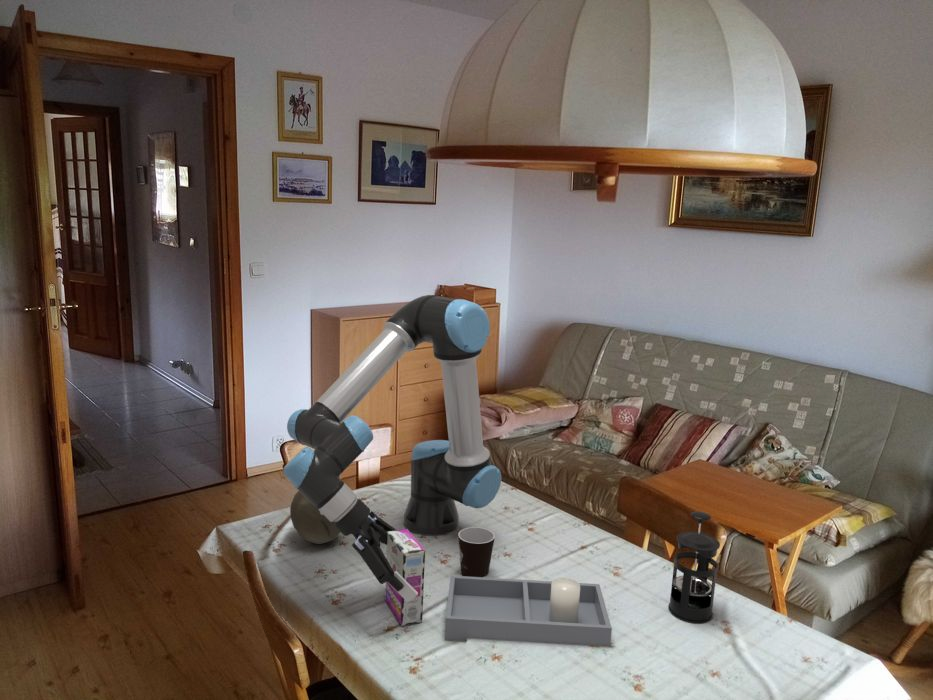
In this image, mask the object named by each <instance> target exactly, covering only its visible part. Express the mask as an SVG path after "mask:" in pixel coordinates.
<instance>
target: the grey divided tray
mask: <svg viewBox="0 0 933 700" xmlns="http://www.w3.org/2000/svg"><path fill="white" fill-rule="evenodd" d="M552 581H553V580H552ZM552 581H549V580H536V579H535V580H534V579H533V580H532V579H517V578H498V577H486V576H485V577H468V576H462V575H450V580H449V587H448V593H447V595H448V596H447V604H446V612H445V621H444V623H445V624H444V641H455V642H468V639H475V640H478V639H479V640H496V641H509V642H510V641H511V642H528V643H546V644H559V645H560V644H561V645H574V646H575V645H577V646H591V647H593V646H594V647H608V648H609V647H611V641H612V631H613V630H612V629H613V628H612V624H611V621H610V617H609V613H608V611H607V607H606V602H605V599H604V596H603V592H602V588H601V585H600V584H599V583H588V582H587V583H584V582H578V583H579V584H580V598H579V611H578V623H563V622H550V620H549V611H550V597H551V583H552Z"/></svg>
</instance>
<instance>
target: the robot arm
mask: <svg viewBox="0 0 933 700" xmlns="http://www.w3.org/2000/svg"><path fill="white" fill-rule="evenodd" d="M382 328H383V329H382V331H381V333H380V334H378V336H376V338H375V339H374V340H373V341H372V342H371V343H370V344H369V345H368V346H367V347H366V348H365V350H363V352H361V354H360V355H359V356H358V357H357V358H356V359H355V360H354V361H353V362H352V363H351V365H349V366H348V367H347V368H346V370H344V371H343V373H341V375H339V377H338V378H337V379H336V380H335V381H334V382H333V383H332V384H331V386H330V387H329V388H328V389H326V391H325V392H324V393H323V394H322V395H321V396H320V397H319V398H318V399H317V400H316V401H315V402H314V404H312V405H311V407H309V409H308V408H306V409H305V408H302V409H299V410H295V411H294V412H293V413H292V414H291V415H290V416H289V418H288V420H287V423H286V428H287V429H286V430H287V433H288V435H289V437H290V438H291V439H293V441H296V442H297V443H299V444H301V445H302V446H306V447H303V448H302V449H301V450H300V451H299V452H298V453H297V454H295V455H294V456H293V457H292V458H291V459H290V460H289V461H288V462H287V464H285V466H284V467H283V474H284V477H286V478H287V480H288V481H289V483H291V484H292V485H293V486H294V488H295V489H297V491H300V492H301V493H302V494H303V495H304V496H305V497H306V498H307V499H308V500H309V501H310V502H311V503H312V504H313V505H314V506H315V507H316V508H317V509H318V510H319V511H320V514H321V515H324V516H325V517H326V518H327V519H328V520H329V521H330V522H333V521H334V526H335V527H336V528H337V529H338V530H339V531H340V533H341V535H343V536H344V537H348V536H349V535H353V537H354V538H355V541H354V542H353V543H352V544H351V547H353V549H354V550H355V551H356V553H358V555H359V556H360V557H361V559H362V560H363V562H365V565H366V566H367V567H368V569H369V570H370V572H371V574H372V575H373V576H374V578H376V580H377V581H378V583H379V584H380V585H384V584H386V581H387V582H388V583H389V584H390V585H391V586H392V587H393V588H394V589H395V590H396V591H397V592H398V593H399V594H400V595H401V596H402V597H403V598H404V599H405V600H406V601H407V602H410V601H411V600H412V599H413V598H414V597H416V596H417V595H418V592H417V591H416V590H415V589H414V588H413V587H412V586H411V585H410V584H409V583H408V582H407V581H406V580H405V579H404V578H403V577H402V576H401V575H400V574H399V573H398V572H397V571H395V572H394V571H393V569H392V568H391V566H390V564H389V562H388V560H387V556H386V554H385V553H384V551H383V550H382V548H381V544H384V545H386V546H387V532H389V531H395V530H397V528H395V527H393V526H392V525H391V524H389V523H387V522H386V521H385V520H383V519H382V518H381V517H379V516H378V515H377V514H376V513H375V512H374V511H371V508H369V506H367V504H365V502H364V501H363V500H362V499H360V498H357V497H358V495H357V494H356V493H355V492H354V491H353V490H352V489H351V488H350V487H349V486H348V485H347V484H346V483H345V482H344V481H343V480H342V479H341V478H340V476H341V474H343V472H344V471H345V470H346V469H347V468H348V467H349V466H350V465H352V463H353V462H354V461H355V460H356V459H357V458H358V457H359V456H360V455H361V454H362V453H364V452H365V449H366V448H368V446H369V445H370V444H371V442H373V440H374V434H373V431H372V429H371V428H370V426H369V425H368V424H367V423H366V422H365V421H364V420H363V419H362V418H360V417H359V416H357V415H350V416H349V414H350V413H351V412H353V410H354V409H355V408H356V407H357V406H358V405H359V403H361V402H362V400H363V399H364V398H365V397H366V396H367V395H368V394H369V393H370V392H371V391H372V389H373V388H374V387H375V386H376V385H377V384H378V383H379V382H380V381H381V380H382V378H384V377H385V376H386V374H387V373H388V372H389V371H390V370H391V369H392V367H393V366H394V365H396V363H397V362H399V360H400V359H401V357H403V356H404V355H405V353H406V352H413V351H414V350H415V349H416V347H417V346H418V345H421V344H423V343H430V344H432V350H433V357H434V359H435V360H437V362H440V366H441V377H442V386H443V397H444V405H445V415H446V426H447V436H448V440H445V439H434V440H433V439H432V440H426V441H422V442H418V443H417V444H415V445H414V446H413V448H412V452H411V458H410V497H409V501H408V503H407V506H406V507H405V510H404V513H403V525H404V527H405V529H408V530H409V532H412V533H414V534H418V535H423V536H425V535H426V536H441V535H446V534H448V533H451V532H454V531H455V530H456V529H457V528H458V527H459V522H460V521H459V519H460V517H459V516H460V515H459V513H458V509H457V505H456V502H458V503H460V504H462V505H464V506H466V507H471V508H474V509H482V508H484V507H486V506H488V505H489V504H490V503H491V502H492V501H493V500H494V499H495V498H496V496H497V494H498V493H499V490H500V488H501V484H502V474H501V470H500V468H498V467H497V466H496V465H493V464H492V463H491V453H490V450H489V449H488V448H487V447H486V446H484V439H483V428H482V427H483V425H482V415H481V404H480V403H481V402H480V401H481V400H480V392H479V390H480V389H479V380H478V368H477V359H478V358H479V357H480V356H481V355H482V352H483V351H482V349H483V348H484V347H485V346H486V344H487V342H488V339H487V338H489V336H490V333H491V332H490V331H491V326H490V320H489V317H488V314H487V313H486V311H485V309H484V308H483V307H482V306H480V305H479V304H477V303H476V302H473V301H469V300H467V299H463V298H452V297H447V296H446V297H445V296H439V295H436V294H426V295H422V296H419V297H416V298H414V299H413V300H410V301H409V302H408V303H406V304H404V305H403V306H402V307H401V308H399V309H398V310H397V311H396V312H394V313H393V314H392V315H391V316H390V317H389V318H388V319H387V320H386V321H385V322H384V324H383V327H382Z"/></svg>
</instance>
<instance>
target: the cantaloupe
mask: <svg viewBox="0 0 933 700" xmlns="http://www.w3.org/2000/svg"><path fill="white" fill-rule="evenodd" d="M289 510H290V511H289V514H290V518H291V523H292V525H293V528H294V529H295V531H296V532H297V534H299V536H301V538H303V539H304V540H306V541H308V542H310V543H313V544H316V545H324V544H326V543H328V542H331V541H334V540H335V539H337V537H338V536H339V535H340V533H341V532H340V531H339V530H338V529H337V528H336V527H335V526H334V521H333V522H330V521H329V520H328V519H327V518H326V517H325V516H324V515H321V514H320V511H319V510H318V509H317V508H316V507H315V506H314V505H313V504H312V503H311V502H310V501H309V500H308V499H307V498H306V497H305V496H304V495H303V494H302V493H301V492H300V491H299V490H297V492H296V493H295V494H294V495H293V499H292V501H291V502H290V509H289Z"/></svg>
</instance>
